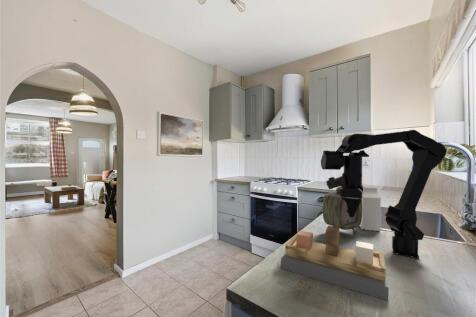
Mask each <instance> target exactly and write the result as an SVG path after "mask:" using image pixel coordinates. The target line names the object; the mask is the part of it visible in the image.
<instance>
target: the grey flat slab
mask: <svg viewBox="0 0 476 317" xmlns="http://www.w3.org/2000/svg"><path fill="white" fill-rule="evenodd" d="M280 269H282V270H285V271H289V272H292V273H296V274H297V275H298V274H299V275H301V276H305V277H308V278H312V279H315V280H319V281H322V282H324V283H325V282H326V283H328V284H332V285H336V286H339V287H342V288H345V289H349V290H352V291H355V292H359V293H362V294H366V295H369V296H372V297H376V298H379V299H383V300H386V301H389V282H388V275H387V273H386V277H385V281H383V280H379V279H376V278H372V277H368V276H364V275H360V274H356V273H352V272H349V271H345V270H341V269H337V268H333V267H329V266H325V265H322V264H318V263H314V262H310V261H306V260H302V259H298V258H295V257H291V256H287V255H286V252H284V254H283V255H282V256H281V258H280Z"/></svg>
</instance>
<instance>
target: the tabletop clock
mask: <svg viewBox="0 0 476 317" xmlns="http://www.w3.org/2000/svg"><path fill="white" fill-rule="evenodd" d="M339 177H342V175H341V176H339ZM341 189H342V186H339V187H336V189H335V191H332V192H329V193H327V194H324V196H323V200H322V218H323V221H324V222H325V223H324V224H326V225H328V226H334V227H339V230H344V231H348V230H352V233H353V234H355V235H356V234H358V231H357V230H356V228H358V227H359V225H360V224H361V219H362V200H361V202H360V204H359V206H358V208H357V210H356V212H355V215H354V217H353V218H352V217H349V213H348V208H347V204H346V202H345V201H344V200H343V199H342V198H341V197H340V190H341ZM340 238H341V234H340V233H339V239H340Z"/></svg>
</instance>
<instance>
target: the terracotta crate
mask: <svg viewBox="0 0 476 317" xmlns="http://www.w3.org/2000/svg"><path fill="white" fill-rule="evenodd" d="M296 235H297V242H296V247H299V248H303V249H307V250H310V249H311V248H312V246H313V242H314V233H313V232H311V231H310V232H309V231H304V230H299V231H298V232H296Z"/></svg>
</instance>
